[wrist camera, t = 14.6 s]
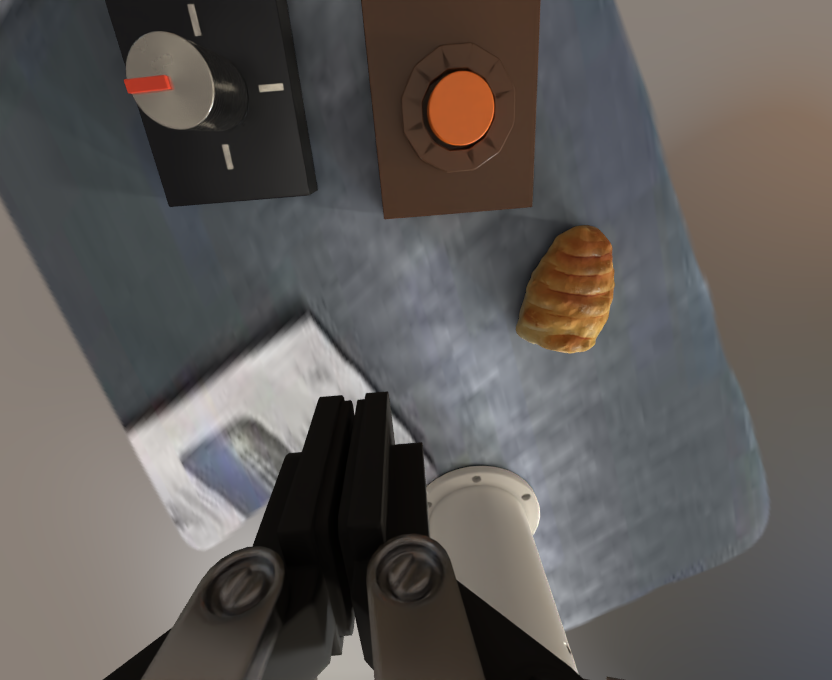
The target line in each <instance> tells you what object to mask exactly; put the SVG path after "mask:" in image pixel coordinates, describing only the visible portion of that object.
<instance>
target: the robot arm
mask: <svg viewBox="0 0 832 680" xmlns="http://www.w3.org/2000/svg"><path fill="white" fill-rule="evenodd" d="M539 519H540V507H539V504H538V501H537V498H536V495H535V493H534V491H533V489H532V488H531V487H530V485H529V484H528V483H527V482H526V481H525V480H524V479H522V478H521V477H520V476H518V475H517V474H515V473H512V472H510V471H508V470H505V469H501V468H498V467H491V466H471V467H465V468H460V469H457V470H454V471H451V472H448V473H446V474H444V475H443V476H441V477H439V478H437V479H436V480H434V481H433V482H432V483H431V484H429V485H428V486H427V487H426V479H425V467H424V456H423V445H422V442H421V443H408V444H396V445H395V441H394V432H393V424H392V416H391V408H390V399H389V393H388V392H376V393H366V395H365V399H362V400H357V405H356V411H355V415H354V409H353V404H352V401H351V400H349V401H345V400H344V397H343V396H342V395H339V396H327V397H320V398H319V400H318V403H317V406H316V409H315V412H314V415H313V418H312V422H311V425H310V428H309V431H308V434H307V437H306V440H305V444H304V447H303V450H302V452H298V453H289V454H287V455H286V457H285V459H284V461H283V464H282V467H281V469H280V472H279V475H278V478H277V480H276V483H275V486H274V489H273V491H272V494H271V497H270V500H269V502H268V505H267V508H266V511H265V513H264V516H263V519H262V522H261V524H260V527H259V530H258V533H257V535H256V538H255V541H254V544H253V547H246V548H243V549H240V550H237V551H234V552H232V553H231V554H229V555H227V556H225V557H224V558H222V559H221V560H219V561H218V562H217V563H216V564H215V565H214V566H213V567H212V568H210V569H209V571H208V572H207V574H206V575H205V576H204V577H203V578H202V580H201V581H200V583H199V584H198V586H197V588H196V589H195V591H194V593H193V594H192V596H191V598H190V599H189V601H188V603H187V604H186V606H185V608H184V609H183V611H182V613H181V614H180V616H179V618H178V619H177V621H176V623H175V624H174V626H173V627H172V628H171V629H170V630H168V631H167V632H166V633H164V634H163V635H162V636H160V637H159V638H158V639H156V640H155V641H154V642H152V643H151V644H150V645H148V646H147V647H146V648H144V649H143V650H142V651H140V652H139V653H138V654H137V655H135V656H134V657H132V658H131V659H130V660H128V661H127V662H126V663H125V664H123V665H122V666H121V667H119V668H118V669H116V670H115V671H114V672H112V673H111V674H110V675H109V676H107V677H106V678H105V679H103V680H317V676H318V675H319V674H320V673H321V672H322V671H323V670H324V669H325V668H326V667H327V665H328V664H329V663H330V659H331V656H335V655H341V654H342V647H343V638H344V636H348V635H352V634H353V629H354V620H355V618H356V623H357V628H358V632H359V636H360V641H361V645H362V650H363V655H364V660H365V661H366V662H367V663H368V665H369V666H370V667H371V668H372V669H373V670H374V678H375V680H588V679H583V678H582V677H580V675H579V674H578V671H577V668H576V665H575V662H574V659H573V656H572V653H571V650H570V647H569V644H568V641H567V638H566V635H565V632H564V629H563V626H562V623H561V620H560V617H559V614H558V611H557V608H556V605H555V602H554V599H553V596H552V593H551V590H550V587H549V584H548V581H547V578H546V575H545V572H544V569H543V566H542V563H541V560H540V557H539V554H538V551H537V548H536V545H535V542H534V539H533V536H532V535H533V534H534V533H535V531H536V528H537V526H538V524H539ZM606 680H624V679H618V678H612V677H607V678H606Z"/></svg>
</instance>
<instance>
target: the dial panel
mask: <svg viewBox="0 0 832 680" xmlns="http://www.w3.org/2000/svg"><path fill="white" fill-rule="evenodd" d="M105 2H106V5H107V8H108V12H109V15H110V18H111V21H112V24H113V28H114V31H115V34H116V37H117V40H118V44H119V47H120V50H121V53H122V57H123V60H124V63H125V66H126V61H127V56H128V53H129V51H130V49H131V47H132V45H133V44H134V43H135V41H136V40H138V39H139V38H140V37H141V36H143V35H145V34H147V33H150V32H154V31H166V32H170V33H174V34H176V35H179V36H181V37H183V38H185V39H187V40H190V41H192V42H194V43H196V44H198V45H200V46H202V47H205V48H207V49H209V50H211V51H213V52H215V53H217V54H219V55H221V56H223V57H225V58H226V59H228V60H229V61H230V62H231V63H232V64H233V65H234V66H235V67H236V68H237V69H238V71H239V72H240V74H241V76H242V77H243V79H244V82H245V85H246V88H247V93H248V105H247V110H246V113H245V115H244V117H243V119H242V120H241V122H240V123H239V124H238V125H236V126H235V127H234V128H232V129H230V130H227V131H195V130H176V129H171V128H167V127H165V126H162V125H160V124H158V123H157V122H155V121H154V120H152V119H151V118H150V117H149V116H147V115H146V114H145V112H144V111H143V110H142V109H141V108H140V107H139V105H138V104H137V105H138V108H139V111H140V114H141V118H142V121H143V124H144V127H145V130H146V134H147V137H148V140H149V143H150V147H151V150H152V153H153V156H154V159H155V163H156V166H157V169H158V172H159V175H160V179H161V182H162V185H163V188H164V191H165V195H166V198H167V201H168V204H169V207H175V206H187V205H199V204H211V203H223V202H235V201H247V200H259V199H271V198H283V197H295V196H307V195H310V194H312V193H314V192H315V191H317V190H318V188H317V182H316V176H315V170H314V164H313V158H312V152H311V146H310V139H309V133H308V127H307V121H306V115H305V109H304V103H303V97H302V91H301V85H300V79H299V73H298V67H297V61H296V55H295V49H294V43H293V37H292V30H291V24H290V18H289V12H288V6H287V0H105Z"/></svg>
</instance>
